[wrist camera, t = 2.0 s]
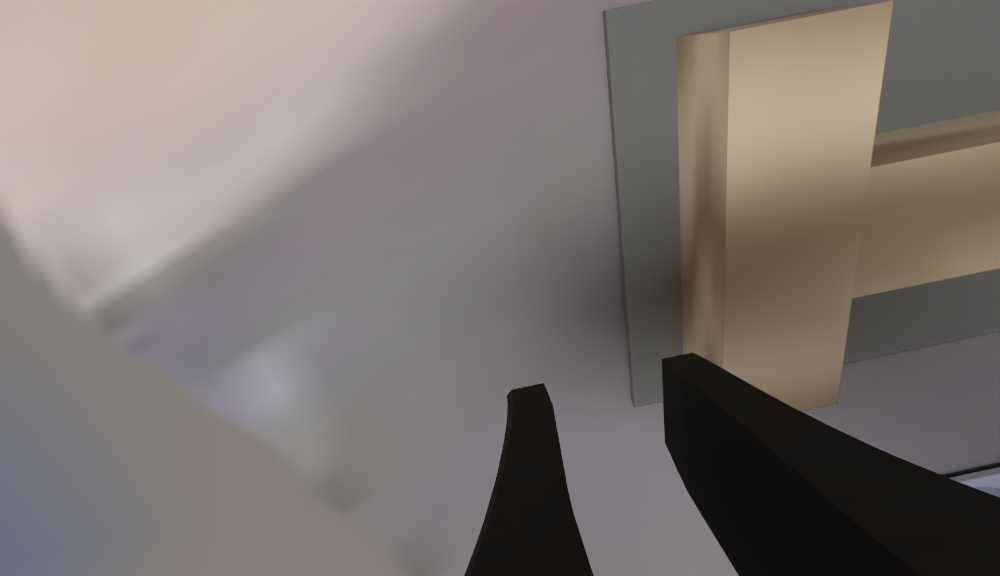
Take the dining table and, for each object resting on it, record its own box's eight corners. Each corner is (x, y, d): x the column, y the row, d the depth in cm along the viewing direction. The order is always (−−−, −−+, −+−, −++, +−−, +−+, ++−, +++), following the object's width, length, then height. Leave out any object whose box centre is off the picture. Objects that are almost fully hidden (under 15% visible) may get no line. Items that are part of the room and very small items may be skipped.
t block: (979, 315, 20) (1064, 355, 17) (683, 376, 20) (721, 427, 17) (1072, -39, 15) (1213, -62, 12) (676, 36, 15) (729, 31, 12)
